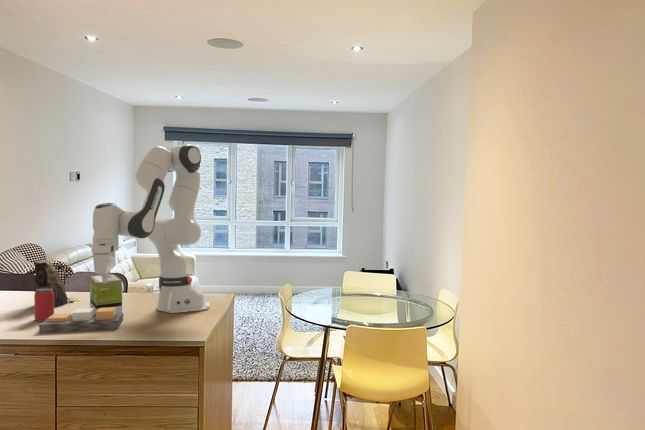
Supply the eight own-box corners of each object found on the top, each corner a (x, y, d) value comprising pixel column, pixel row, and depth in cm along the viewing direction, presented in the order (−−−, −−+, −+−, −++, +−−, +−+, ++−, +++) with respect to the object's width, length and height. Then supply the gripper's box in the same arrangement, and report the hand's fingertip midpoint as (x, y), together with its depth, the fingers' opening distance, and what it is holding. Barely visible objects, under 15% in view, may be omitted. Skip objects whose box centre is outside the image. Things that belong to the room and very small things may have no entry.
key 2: (116, 315, 181) (116, 307, 180) (113, 320, 175) (113, 311, 175) (99, 316, 179) (99, 307, 179) (96, 320, 173) (96, 311, 173)
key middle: (93, 316, 179) (93, 308, 178) (90, 321, 173) (90, 312, 173) (76, 317, 177) (76, 308, 177) (72, 322, 171) (72, 312, 171)
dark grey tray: (123, 320, 184) (123, 312, 184) (117, 328, 172) (117, 320, 172) (50, 323, 178) (50, 315, 177) (39, 333, 166) (39, 324, 166)
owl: (49, 310, 197) (49, 263, 196) (22, 308, 199) (21, 262, 198) (69, 303, 210) (69, 259, 209) (44, 301, 211) (43, 258, 210)
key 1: (71, 322, 177) (70, 313, 176) (66, 326, 171) (66, 317, 171) (53, 322, 175) (53, 314, 175) (48, 327, 169) (48, 318, 169)
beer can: (34, 322, 179) (33, 291, 178) (35, 318, 185) (35, 288, 184) (53, 320, 182) (53, 290, 181) (54, 316, 188) (54, 286, 187)
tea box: (89, 310, 198) (88, 275, 198) (114, 306, 204) (114, 273, 204) (96, 318, 186) (96, 281, 186) (122, 314, 192) (122, 279, 192)
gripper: (102, 243, 185) (102, 277, 185) (90, 249, 165) (90, 288, 166) (119, 243, 186) (119, 277, 187) (109, 249, 166) (109, 287, 167)
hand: (105, 282), depth 176 cm, fingers closed
